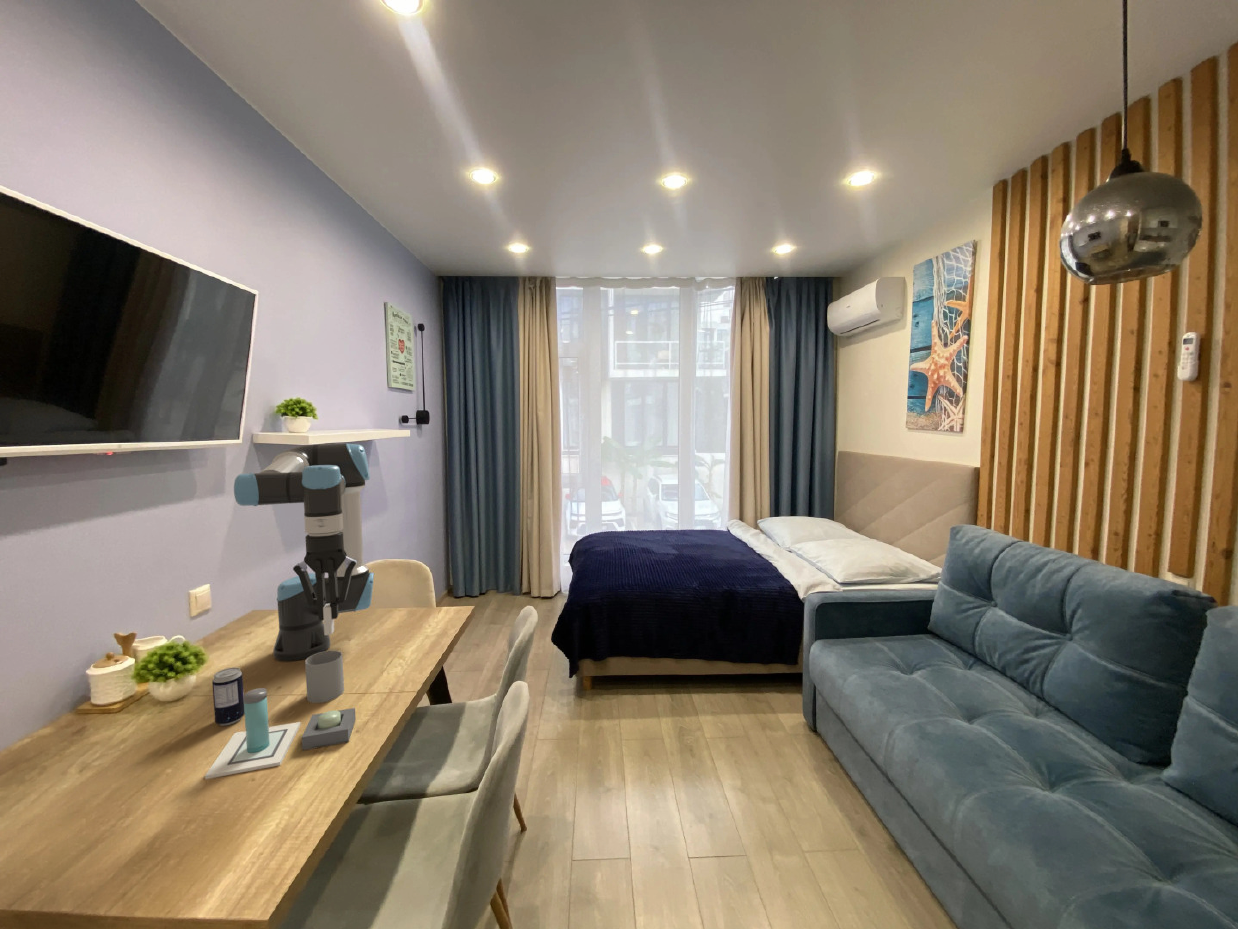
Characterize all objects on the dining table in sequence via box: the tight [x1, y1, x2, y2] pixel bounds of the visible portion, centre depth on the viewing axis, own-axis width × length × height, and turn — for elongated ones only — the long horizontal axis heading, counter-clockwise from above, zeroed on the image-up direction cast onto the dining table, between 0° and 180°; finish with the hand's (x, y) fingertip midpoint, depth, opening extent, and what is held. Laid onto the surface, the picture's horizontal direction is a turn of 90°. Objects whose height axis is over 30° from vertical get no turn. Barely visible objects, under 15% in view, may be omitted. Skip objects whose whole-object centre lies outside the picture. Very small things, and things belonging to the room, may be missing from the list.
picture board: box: [204, 721, 302, 780], centre depth 110 cm, size 15×13×1 cm
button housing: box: [301, 707, 356, 751], centre depth 115 cm, size 9×9×3 cm
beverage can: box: [212, 667, 245, 727], centre depth 120 cm, size 6×6×12 cm
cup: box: [304, 650, 345, 704], centre depth 132 cm, size 8×8×10 cm
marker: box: [243, 687, 270, 753], centre depth 109 cm, size 4×4×12 cm
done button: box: [318, 709, 341, 729], centre depth 115 cm, size 4×4×3 cm
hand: (329, 632), depth 117 cm, fingers closed
